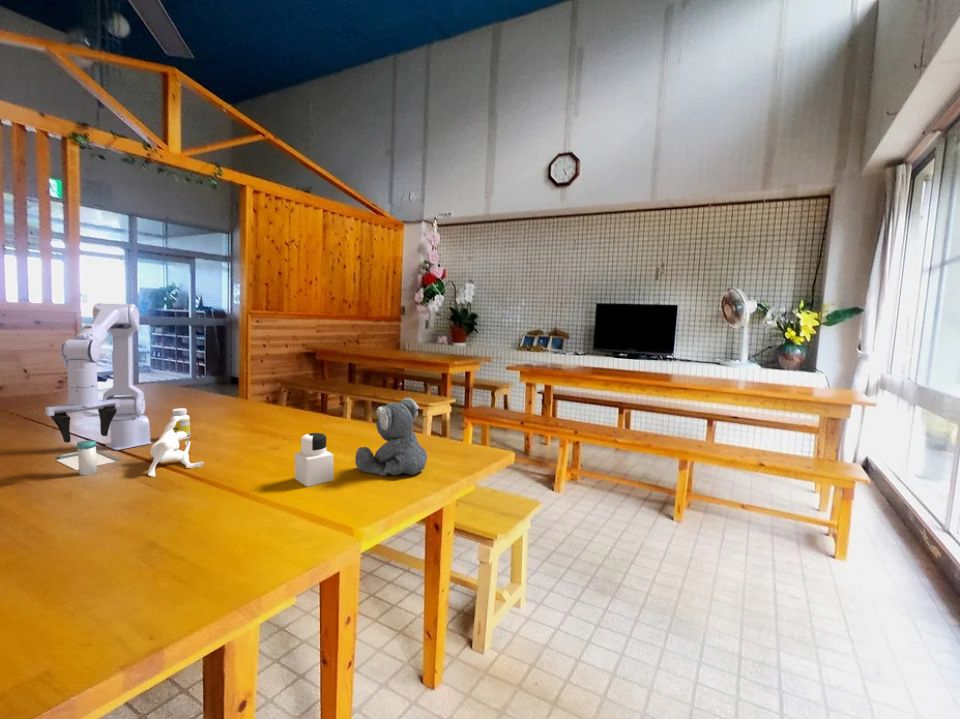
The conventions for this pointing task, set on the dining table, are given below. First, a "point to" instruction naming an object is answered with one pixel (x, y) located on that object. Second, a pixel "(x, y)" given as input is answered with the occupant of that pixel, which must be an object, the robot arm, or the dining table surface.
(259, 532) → the dining table surface
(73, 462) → the white rectangular slab
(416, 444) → the koala plush
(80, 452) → the white teal cylinder
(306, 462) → the medicine bottle
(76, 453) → the green striped bar
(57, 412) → the robot arm
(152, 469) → the person figurine
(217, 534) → the dining table surface
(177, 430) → the supplement bottle
